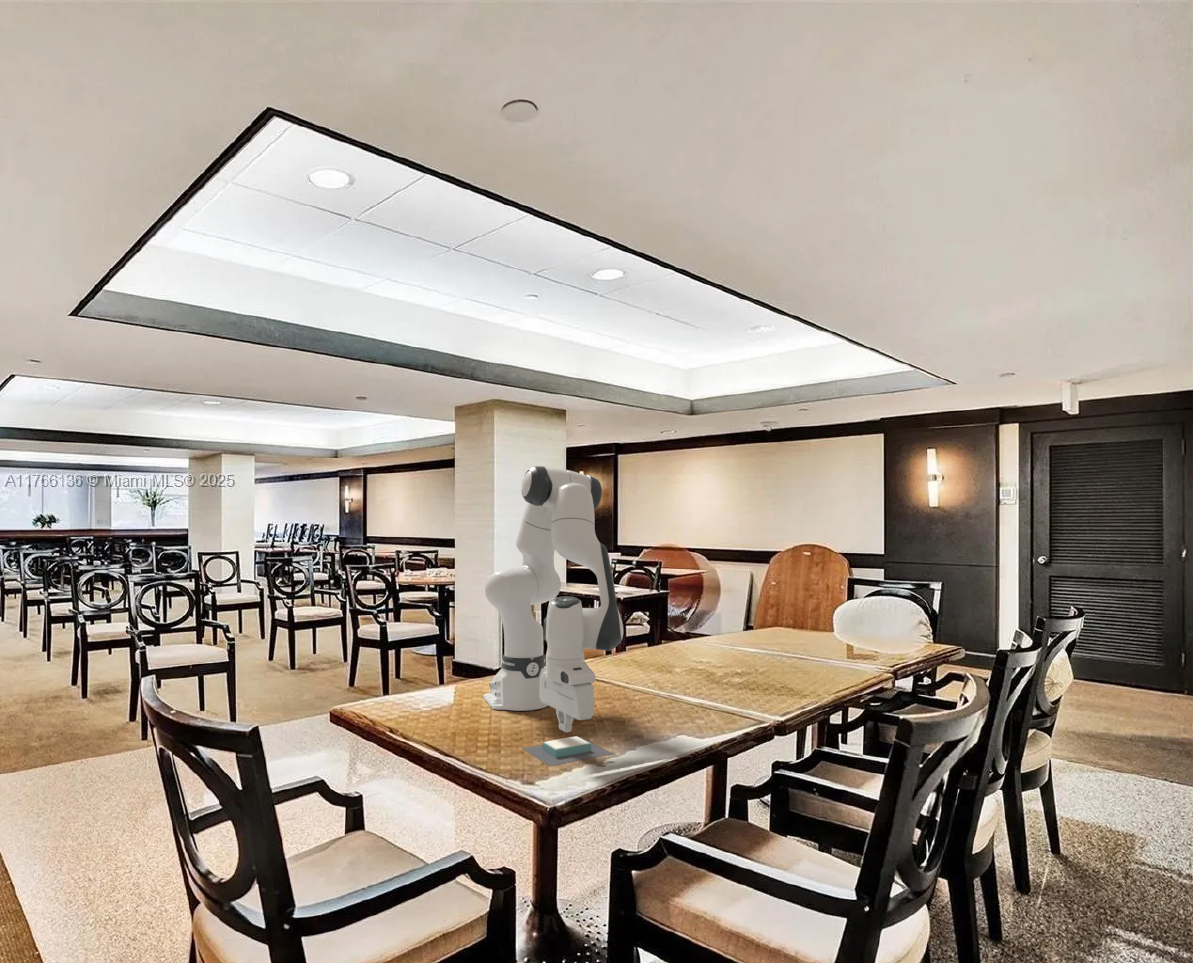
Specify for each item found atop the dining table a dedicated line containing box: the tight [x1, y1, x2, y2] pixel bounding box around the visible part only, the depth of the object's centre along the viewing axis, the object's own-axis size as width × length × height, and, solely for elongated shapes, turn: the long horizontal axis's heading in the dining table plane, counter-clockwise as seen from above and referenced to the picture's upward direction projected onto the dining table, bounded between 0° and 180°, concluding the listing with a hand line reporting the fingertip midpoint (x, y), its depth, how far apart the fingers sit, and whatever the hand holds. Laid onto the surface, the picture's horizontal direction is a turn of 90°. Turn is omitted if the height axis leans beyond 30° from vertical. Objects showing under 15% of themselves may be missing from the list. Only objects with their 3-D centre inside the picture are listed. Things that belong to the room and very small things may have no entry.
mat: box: [522, 737, 614, 767], centre depth 172 cm, size 14×16×1 cm
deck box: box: [542, 735, 591, 758], centre depth 172 cm, size 2×9×6 cm
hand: (565, 730), depth 173 cm, fingers closed
